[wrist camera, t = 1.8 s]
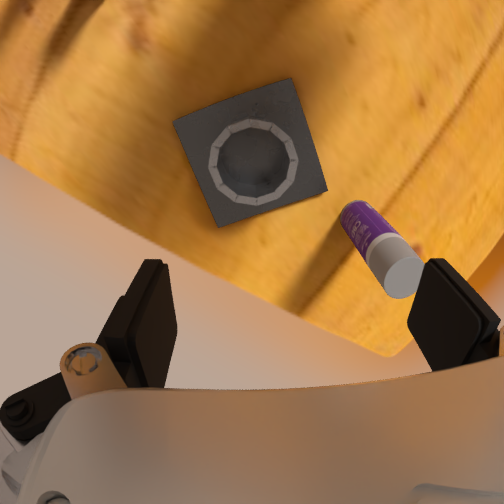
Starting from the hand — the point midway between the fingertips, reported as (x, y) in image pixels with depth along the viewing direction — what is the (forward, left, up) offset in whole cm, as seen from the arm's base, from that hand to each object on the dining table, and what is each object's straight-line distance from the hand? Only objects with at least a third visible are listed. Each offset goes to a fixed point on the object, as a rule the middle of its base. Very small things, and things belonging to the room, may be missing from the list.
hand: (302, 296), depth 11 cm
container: (-9, +11, -28) cm, 32 cm away
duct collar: (+1, -1, -28) cm, 28 cm away
